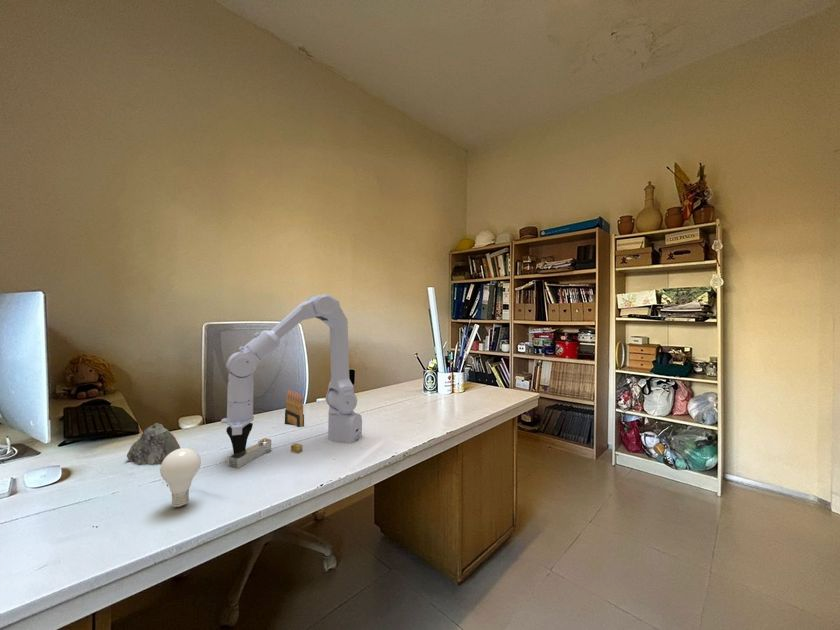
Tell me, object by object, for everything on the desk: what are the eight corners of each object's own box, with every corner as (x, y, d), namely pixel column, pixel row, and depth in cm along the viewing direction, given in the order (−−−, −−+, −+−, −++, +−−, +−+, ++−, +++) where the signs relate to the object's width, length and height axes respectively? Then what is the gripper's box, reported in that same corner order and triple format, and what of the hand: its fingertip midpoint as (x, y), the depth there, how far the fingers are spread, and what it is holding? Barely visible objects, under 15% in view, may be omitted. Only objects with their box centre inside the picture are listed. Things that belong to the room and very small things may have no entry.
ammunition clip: (304, 430, 108) (304, 393, 108) (298, 431, 106) (299, 394, 107) (289, 422, 115) (290, 388, 115) (284, 424, 114) (285, 389, 114)
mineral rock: (127, 459, 84) (128, 419, 85) (179, 449, 91) (179, 412, 91) (124, 478, 74) (125, 433, 75) (182, 465, 81) (183, 424, 81)
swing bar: (264, 448, 89) (264, 436, 89) (273, 449, 88) (274, 437, 88) (227, 466, 78) (227, 452, 78) (238, 467, 77) (238, 454, 77)
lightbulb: (168, 520, 59) (169, 458, 59) (153, 508, 62) (154, 450, 63) (206, 503, 64) (207, 447, 65) (190, 494, 68) (191, 440, 68)
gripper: (226, 395, 87) (224, 446, 87) (217, 409, 74) (215, 469, 74) (255, 393, 90) (254, 443, 90) (252, 406, 77) (251, 464, 77)
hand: (239, 454), depth 82 cm, fingers closed, pressing on swing bar
